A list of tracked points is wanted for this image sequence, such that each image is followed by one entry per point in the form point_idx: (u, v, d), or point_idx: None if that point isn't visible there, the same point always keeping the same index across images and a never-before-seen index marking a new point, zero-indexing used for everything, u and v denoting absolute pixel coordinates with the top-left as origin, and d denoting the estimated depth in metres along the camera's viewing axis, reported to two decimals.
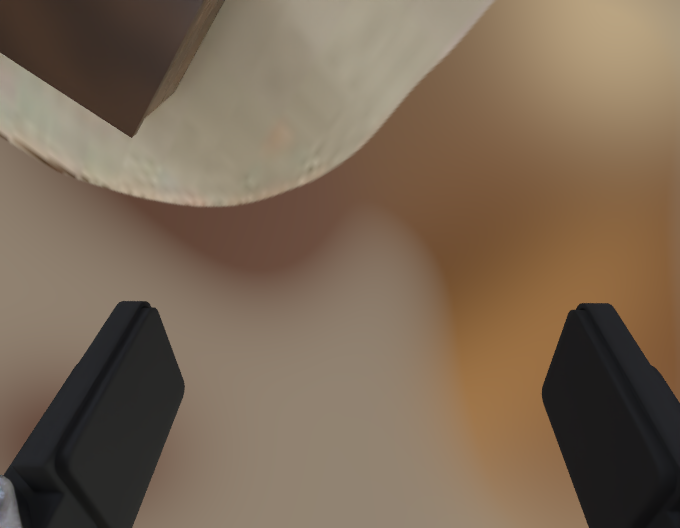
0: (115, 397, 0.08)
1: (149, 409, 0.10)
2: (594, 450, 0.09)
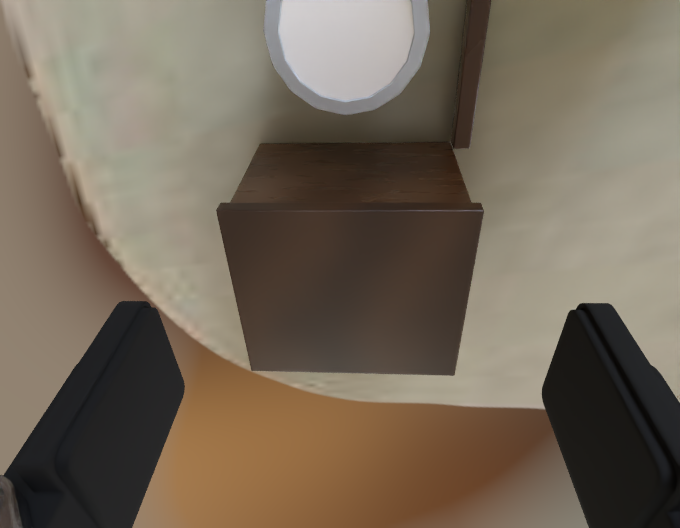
0: (115, 397, 0.08)
1: (149, 409, 0.10)
2: (594, 450, 0.09)
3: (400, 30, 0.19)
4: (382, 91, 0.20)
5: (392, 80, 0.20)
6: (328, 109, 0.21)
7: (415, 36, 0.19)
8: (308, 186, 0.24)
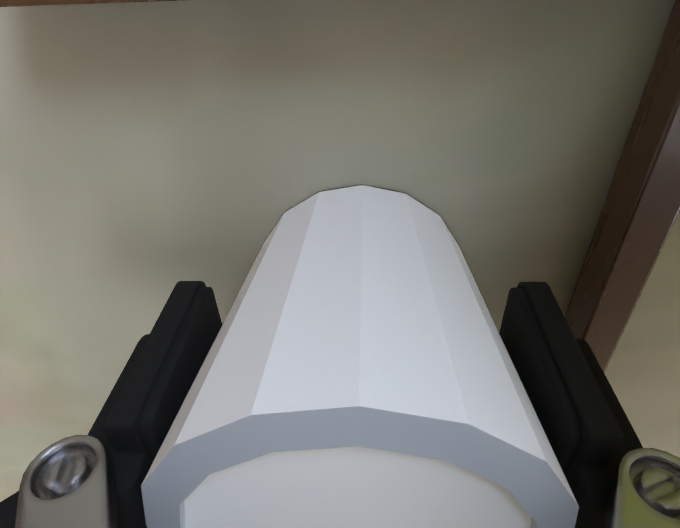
0: (183, 368, 0.09)
1: None
2: None
3: None
4: None
5: None
6: None
7: None
8: None
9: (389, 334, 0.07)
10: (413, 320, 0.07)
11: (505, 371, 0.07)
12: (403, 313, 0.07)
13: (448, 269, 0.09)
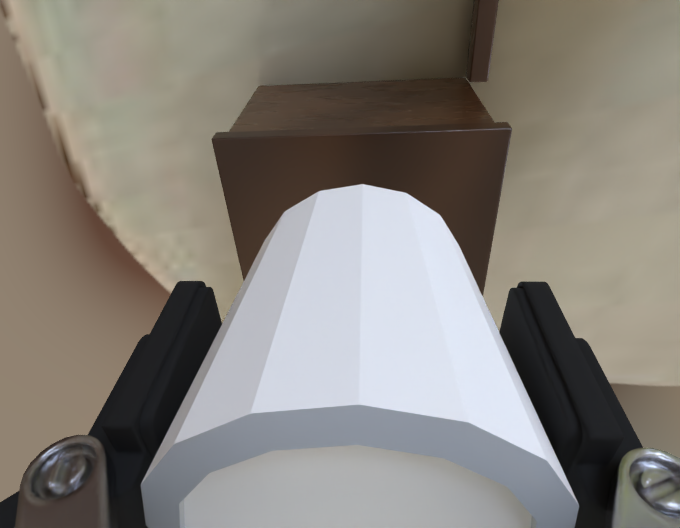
0: (183, 368, 0.09)
1: None
2: None
3: None
4: None
5: None
6: None
7: None
8: (313, 117, 0.22)
9: (389, 333, 0.07)
10: (413, 319, 0.07)
11: (505, 370, 0.07)
12: (403, 312, 0.07)
13: (448, 268, 0.09)
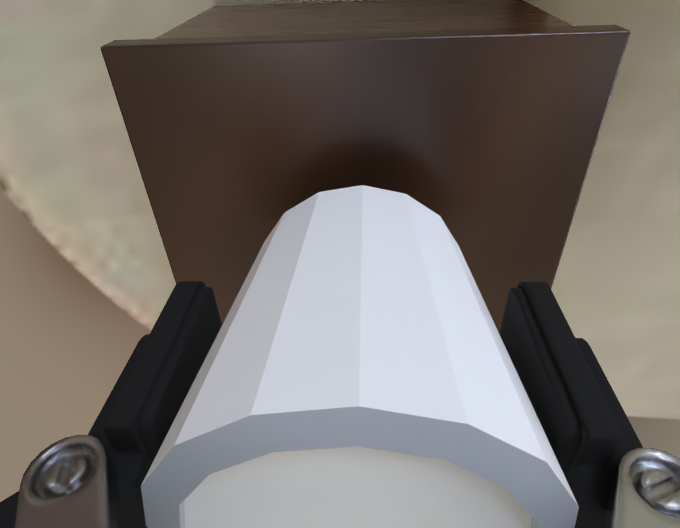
0: (183, 368, 0.09)
1: None
2: None
3: None
4: None
5: None
6: None
7: None
8: (284, 31, 0.14)
9: (389, 334, 0.07)
10: (413, 320, 0.07)
11: (505, 371, 0.07)
12: (403, 313, 0.07)
13: (448, 269, 0.09)
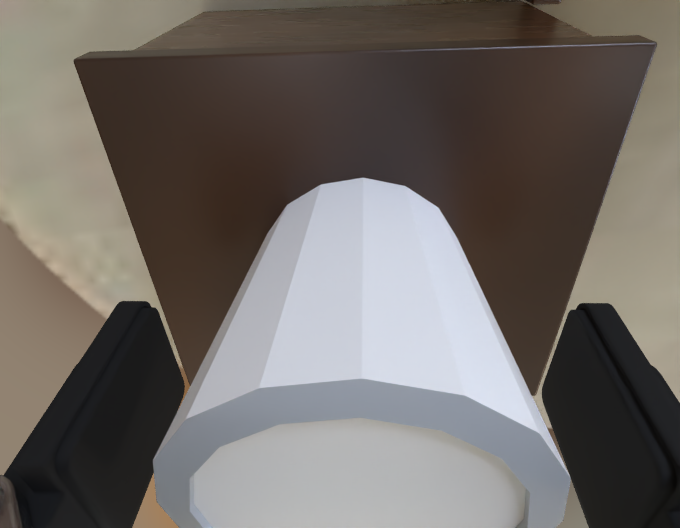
0: (115, 397, 0.09)
1: (149, 409, 0.10)
2: (594, 450, 0.09)
3: (490, 514, 0.08)
4: None
5: None
6: None
7: (526, 526, 0.08)
8: (276, 40, 0.13)
9: (389, 314, 0.07)
10: (412, 302, 0.07)
11: (500, 351, 0.07)
12: (403, 296, 0.07)
13: (446, 257, 0.09)
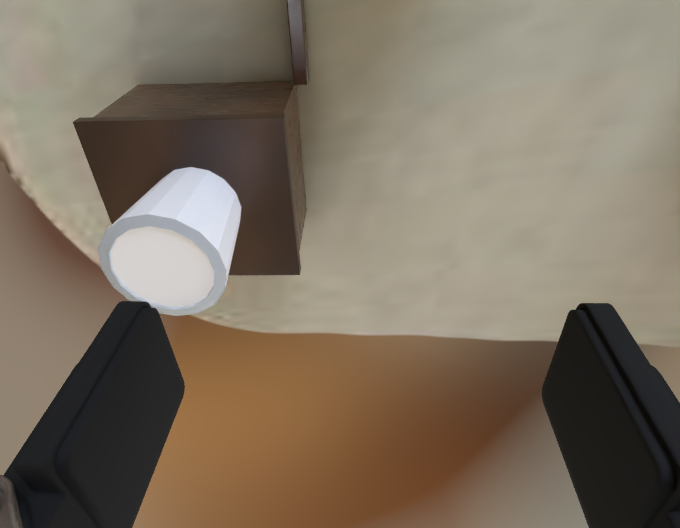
0: (115, 397, 0.08)
1: (149, 409, 0.10)
2: (594, 450, 0.09)
3: (203, 268, 0.25)
4: (200, 303, 0.26)
5: (206, 296, 0.26)
6: (162, 312, 0.27)
7: (215, 272, 0.25)
8: (159, 109, 0.30)
9: (166, 204, 0.24)
10: (176, 202, 0.24)
11: (205, 217, 0.25)
12: (175, 200, 0.24)
13: (206, 194, 0.26)
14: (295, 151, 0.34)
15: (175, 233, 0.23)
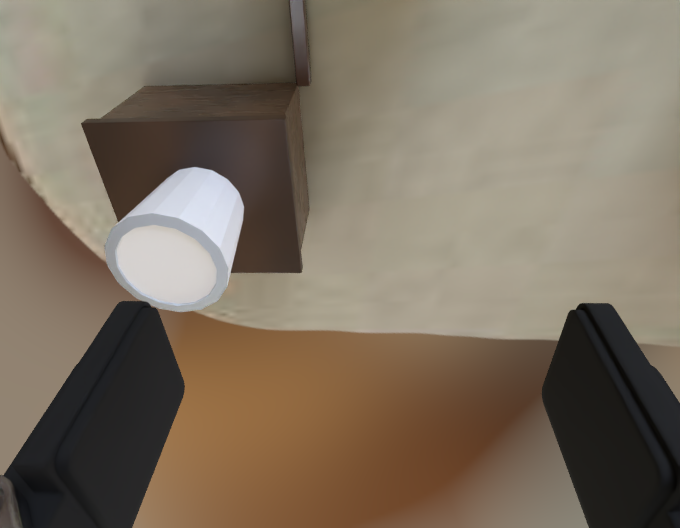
0: (115, 397, 0.08)
1: (149, 409, 0.10)
2: (594, 450, 0.09)
3: (206, 266, 0.25)
4: (203, 299, 0.27)
5: (209, 293, 0.27)
6: (166, 308, 0.27)
7: (218, 270, 0.25)
8: (164, 110, 0.30)
9: (170, 203, 0.25)
10: (180, 201, 0.25)
11: (208, 216, 0.25)
12: (178, 200, 0.25)
13: (209, 193, 0.27)
14: (297, 151, 0.34)
15: (178, 231, 0.24)
